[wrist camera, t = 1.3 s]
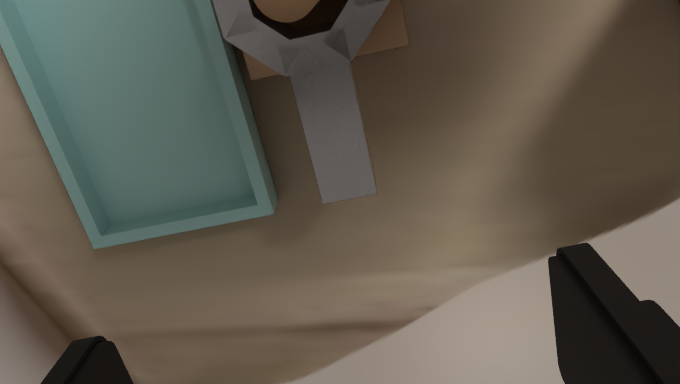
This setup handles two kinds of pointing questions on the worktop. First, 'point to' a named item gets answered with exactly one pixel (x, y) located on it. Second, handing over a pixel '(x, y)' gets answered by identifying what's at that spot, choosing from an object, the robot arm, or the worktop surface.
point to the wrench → (317, 84)
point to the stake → (322, 7)
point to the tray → (140, 113)
